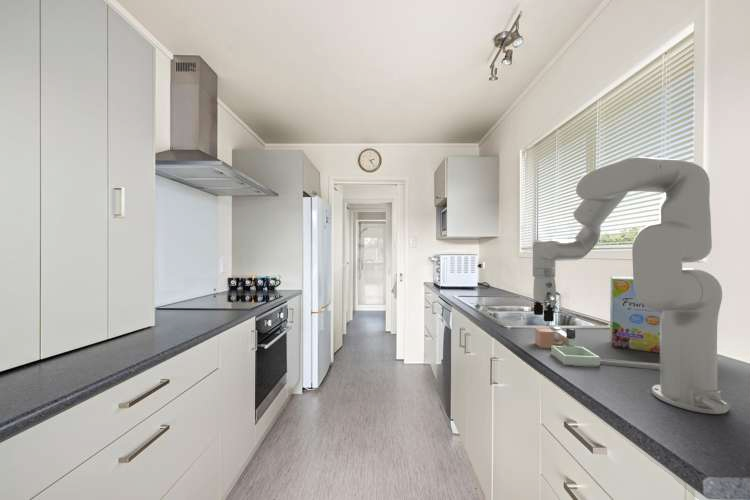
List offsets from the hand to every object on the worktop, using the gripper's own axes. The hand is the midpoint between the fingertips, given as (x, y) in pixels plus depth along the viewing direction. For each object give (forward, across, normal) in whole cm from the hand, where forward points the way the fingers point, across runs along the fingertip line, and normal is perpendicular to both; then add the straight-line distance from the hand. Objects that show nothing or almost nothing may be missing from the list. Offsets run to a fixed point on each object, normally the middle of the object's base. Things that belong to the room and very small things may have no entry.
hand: (543, 317), depth 114 cm
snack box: (+10, 0, -35) cm, 37 cm away
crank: (+9, -2, -6) cm, 11 cm away
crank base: (+10, +4, -6) cm, 12 cm away
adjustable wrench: (+10, -18, -22) cm, 30 cm away
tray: (+10, -16, -4) cm, 19 cm away
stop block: (+10, -1, 0) cm, 11 cm away
